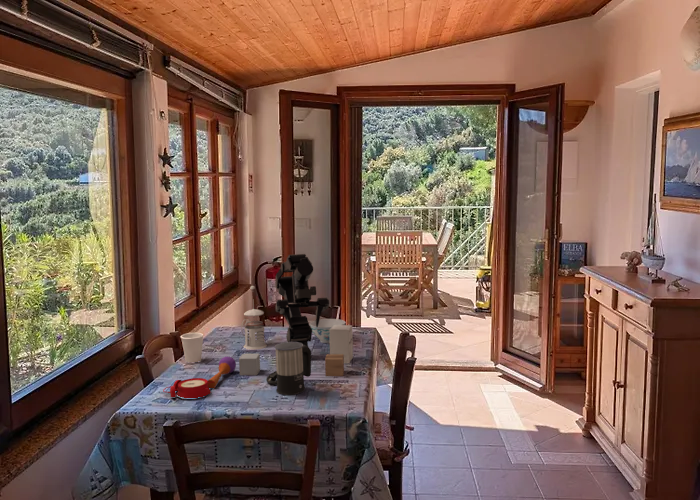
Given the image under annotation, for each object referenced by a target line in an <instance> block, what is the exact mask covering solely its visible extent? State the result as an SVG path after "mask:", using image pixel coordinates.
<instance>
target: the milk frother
mask: <svg viewBox="0 0 700 500" xmlns="http://www.w3.org/2000/svg"><path fill="white" fill-rule="evenodd" d="M273 347H274V349H275V368H276V370H275V371H272V372H271V373H270V374H268V375H267V377H266V383H267V384H268V385H269V384H270V385H272V386H273V385H274V386H276V390H275V391H276V393H277V394H279V395H285V396H286V395H288V396H291V395H298V394H300V393H303V392H305V390H306V387H305V378H304V377H307V378H309V377H311V375H312V350H311V348H310V347H309V345H308V346H305V345H303V344H302V343H299V342H287V341H284V342H280V343H277V344H275V345H274V346H273Z"/></svg>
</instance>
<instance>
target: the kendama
mask: <svg viewBox="0 0 700 500" xmlns="http://www.w3.org/2000/svg"><path fill="white" fill-rule="evenodd" d="M236 367H237V363H236V361H235V358H233V357H231V356H224V357H223V356H222V357H221V359H219V362H218V367H217V368H218V372H217V373H216V374H215V375H214V376H212V377H211V378H209V379H207V381H208V382H212V383H208V387H209V388H214V389H216V387H217V385H218V383H219V381H220V379H221V377H222V375H228V374H232V373H233V372H234V371H235V369H236ZM213 381H214V382H213Z"/></svg>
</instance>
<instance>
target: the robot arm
mask: <svg viewBox="0 0 700 500" xmlns="http://www.w3.org/2000/svg"><path fill="white" fill-rule="evenodd" d="M313 271H314V267H313V263H312V262H311V261H310V259H309V256H307V255H306V253H301V254H300V253H299V254H288V255H287V257H286V260H285V261H284V262H282V263H281V264H280V268H279V270H278V271H277V272H276V274H275V279H274V280H275V281H274V283H275V284H274V286H275V289H277V292H278V295H280V296H281V297H283V298H284V299H277V300H276V301H275V312H276V313H279V314H280V315H282V316H283V317H284V319H285V320H286V322H287V324H288V327H287V332H286V342H299V343H302V344H303V345H305V346H308V347H309V344H308V343H309V342H312V339H313V338H312V336H313V335H312V334H313V333H312V329H311V326H310V325H309V323H310V322H309V321H308V317H307V316H306V315H302V312H301V309H300V308H315V307H316V310H315V320H316V327H318V324H319V320H320V318H321V315H322V313H324V312H325V311H326V310H328V309H329V307H330V299H329V298H328V297H318V298H317V299H316V300H315V301H312V296H316V295H317V286H315V285H314V286H313V285H312V286H309V280H310V278H311V275H312V274H313ZM285 273H292V275H291V276H289V275H288V276H284V274H285Z"/></svg>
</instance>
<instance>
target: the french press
mask: <svg viewBox="0 0 700 500" xmlns="http://www.w3.org/2000/svg"><path fill="white" fill-rule="evenodd" d="M249 288H250V290H252V291H254V290H255V289H256V287H255V285H251V286H250V287H249ZM254 303H255V302H254V300H252V306H253V307H252V309H249V310H247V311H245V312H244V313H243V316H244V317H259V316H262V315H264V313H265V312H264V311H263V310H261V309H257V308H256V309H255V304H254ZM245 321H246V322H245ZM244 322H245V323H244ZM243 323H244V331H241V333H242V335H243V337H244V340H245V341H244V342H245V344H244V345H243V347H244V348H246V349H245V350H249V351H250V350H251V351H252V350H254V351H255V350H261V349H265V348H266V346H267V347H268V345H267V343H266V341H265V339H266V338H265V326H264V325H263V323H264V322H263V321H260V320H252V321H250V318H248V319H246V318H244V319H243V320H242V322H241V328H240V329H243ZM244 348H243V349H244Z"/></svg>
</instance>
